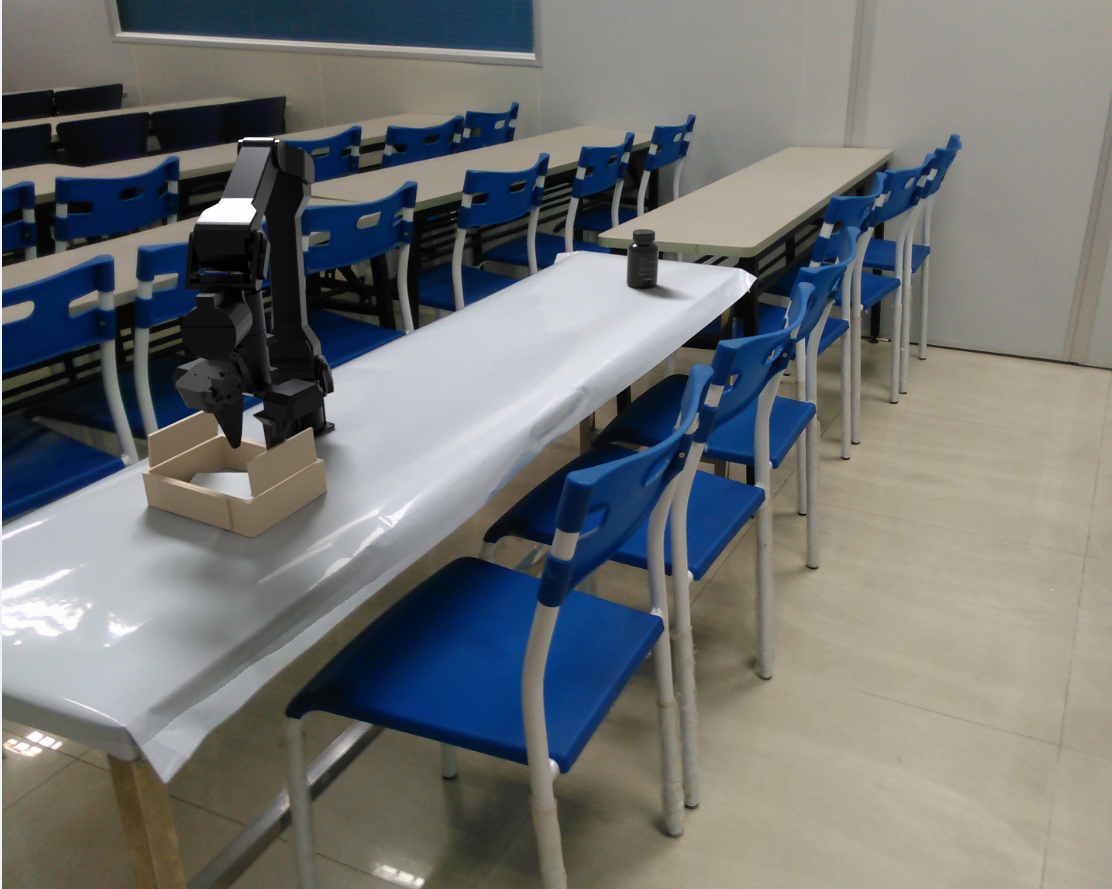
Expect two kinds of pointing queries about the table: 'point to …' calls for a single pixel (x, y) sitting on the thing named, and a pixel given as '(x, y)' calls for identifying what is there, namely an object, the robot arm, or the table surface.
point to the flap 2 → (281, 462)
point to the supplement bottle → (642, 260)
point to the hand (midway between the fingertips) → (255, 453)
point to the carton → (245, 517)
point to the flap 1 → (181, 437)
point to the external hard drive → (225, 483)
